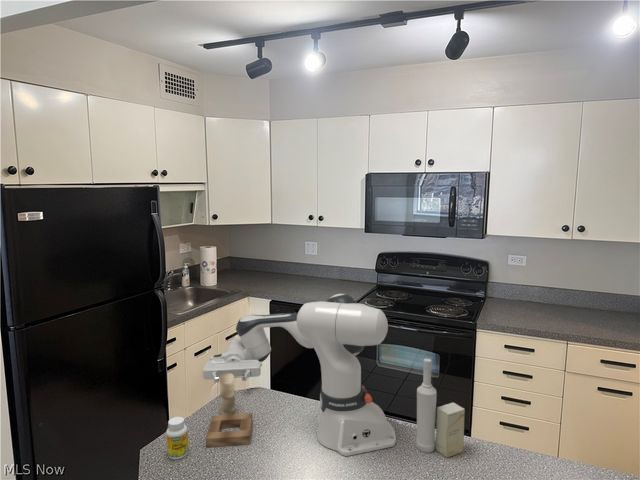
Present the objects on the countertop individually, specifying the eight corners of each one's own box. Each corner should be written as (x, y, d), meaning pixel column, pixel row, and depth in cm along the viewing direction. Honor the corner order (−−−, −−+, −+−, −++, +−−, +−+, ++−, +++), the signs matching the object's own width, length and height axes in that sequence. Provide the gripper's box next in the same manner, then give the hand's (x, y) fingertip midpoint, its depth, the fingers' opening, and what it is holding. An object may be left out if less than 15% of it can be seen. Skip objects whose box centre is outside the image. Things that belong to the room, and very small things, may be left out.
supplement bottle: (185, 445, 117) (183, 412, 115) (191, 455, 112) (189, 421, 111) (165, 452, 114) (163, 418, 112) (170, 462, 109) (168, 428, 108)
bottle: (420, 439, 118) (422, 354, 115) (437, 445, 115) (440, 359, 112) (412, 448, 114) (414, 361, 111) (430, 455, 111) (433, 365, 108)
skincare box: (446, 458, 110) (448, 414, 108) (434, 449, 114) (435, 407, 112) (464, 451, 113) (465, 408, 111) (452, 442, 117) (453, 401, 115)
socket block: (252, 420, 129) (252, 413, 128) (249, 444, 117) (249, 435, 116) (212, 423, 127) (212, 415, 127) (205, 447, 116) (205, 438, 115)
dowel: (235, 408, 136) (234, 372, 135) (234, 415, 132) (233, 378, 130) (222, 409, 136) (220, 373, 134) (220, 416, 131) (218, 379, 130)
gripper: (262, 369, 158) (261, 386, 144) (207, 372, 156) (200, 390, 142) (261, 353, 157) (260, 369, 143) (206, 356, 155) (199, 372, 141)
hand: (230, 379), depth 143 cm, fingers open, 8 cm apart
